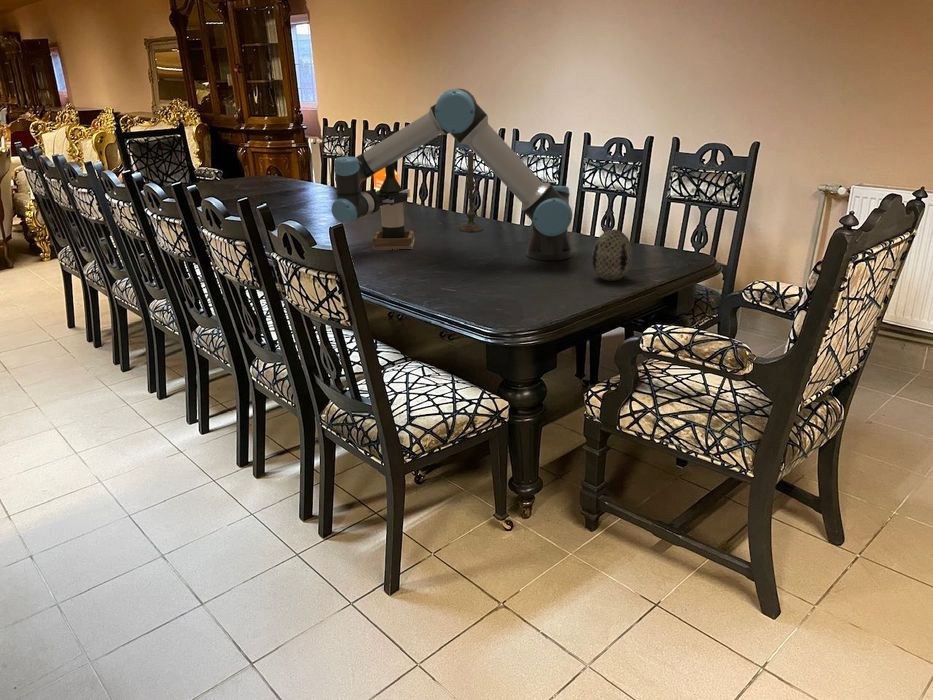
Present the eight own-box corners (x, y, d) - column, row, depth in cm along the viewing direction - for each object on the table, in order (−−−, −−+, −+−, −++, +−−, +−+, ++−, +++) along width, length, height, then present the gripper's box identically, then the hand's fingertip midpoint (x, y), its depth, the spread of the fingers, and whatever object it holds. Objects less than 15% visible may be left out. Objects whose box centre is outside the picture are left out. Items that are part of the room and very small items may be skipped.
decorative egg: (582, 277, 207) (585, 227, 202) (616, 272, 211) (619, 224, 206) (604, 287, 197) (607, 236, 192) (638, 283, 201) (642, 232, 196)
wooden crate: (412, 249, 242) (411, 239, 241) (372, 250, 242) (371, 239, 241) (415, 240, 255) (414, 230, 254) (377, 240, 255) (376, 230, 254)
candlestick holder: (456, 231, 268) (454, 151, 257) (464, 226, 276) (463, 149, 265) (478, 233, 265) (477, 152, 253) (486, 228, 273) (486, 149, 261)
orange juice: (388, 203, 325) (386, 160, 318) (400, 206, 319) (397, 161, 312) (375, 206, 321) (372, 161, 313) (386, 208, 315) (383, 163, 307)
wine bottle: (401, 239, 243) (397, 151, 232) (378, 239, 244) (373, 151, 233) (407, 234, 250) (404, 149, 239) (385, 233, 252) (381, 148, 241)
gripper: (338, 212, 232) (372, 201, 251) (394, 216, 224) (424, 204, 244) (337, 190, 229) (371, 180, 248) (393, 193, 221) (423, 183, 241)
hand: (397, 192), depth 246 cm, fingers closed on wine bottle, 8 cm apart
